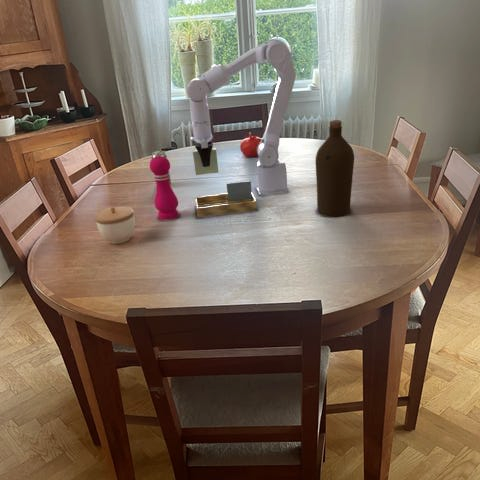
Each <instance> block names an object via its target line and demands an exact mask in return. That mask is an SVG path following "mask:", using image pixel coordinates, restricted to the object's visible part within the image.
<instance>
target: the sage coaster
mask: <svg viewBox="0 0 480 480" xmlns="http://www.w3.org/2000/svg"><path fill="white" fill-rule="evenodd" d="M217 155H218V154H217V148H212V150H211V155H210V166H208V167H203V165H202V161H201V158H200V155H199V153H198V151H197V150H193V151H192V158H193V164H194V171H195V176H202V175H210V174H216V173H217V174H219V165H218V163H219V162H218V156H217Z"/></svg>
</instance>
